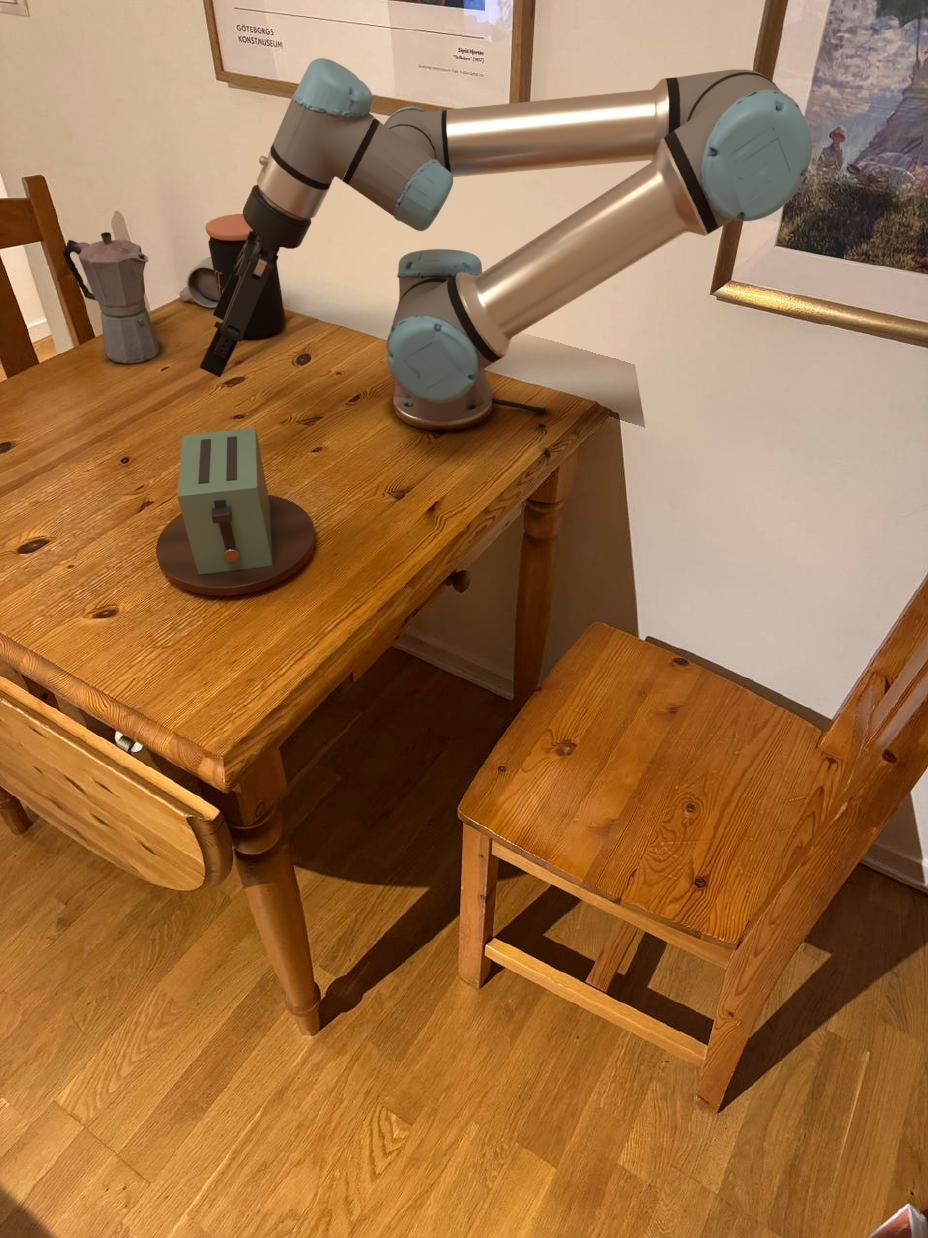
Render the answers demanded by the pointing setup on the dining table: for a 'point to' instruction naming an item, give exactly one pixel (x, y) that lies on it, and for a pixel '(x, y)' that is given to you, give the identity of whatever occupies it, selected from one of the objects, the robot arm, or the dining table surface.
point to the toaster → (230, 520)
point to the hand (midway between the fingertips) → (216, 343)
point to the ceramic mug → (202, 285)
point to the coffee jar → (224, 251)
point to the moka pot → (117, 295)
